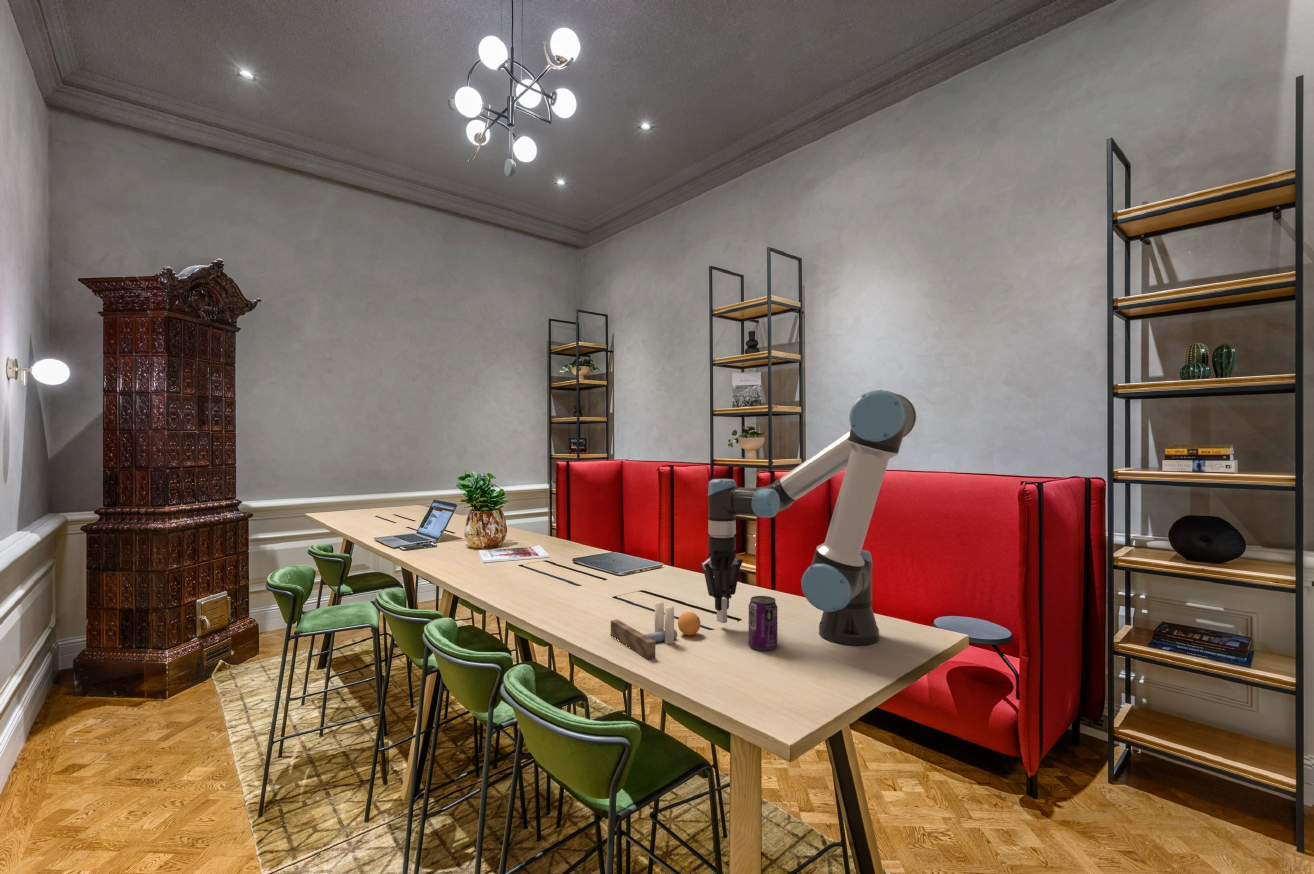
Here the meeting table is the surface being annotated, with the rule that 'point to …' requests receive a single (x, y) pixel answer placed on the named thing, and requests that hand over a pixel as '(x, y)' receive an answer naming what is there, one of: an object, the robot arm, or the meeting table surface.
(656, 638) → the front pin
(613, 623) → the walnut rail
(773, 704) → the meeting table surface
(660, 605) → the rear pin right
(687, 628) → the ball
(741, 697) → the meeting table surface
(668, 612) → the rear pin left
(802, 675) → the meeting table surface
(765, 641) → the beverage can
